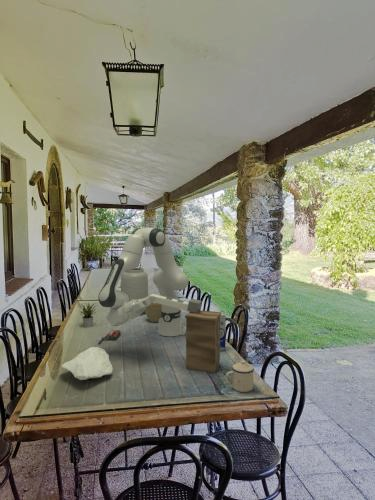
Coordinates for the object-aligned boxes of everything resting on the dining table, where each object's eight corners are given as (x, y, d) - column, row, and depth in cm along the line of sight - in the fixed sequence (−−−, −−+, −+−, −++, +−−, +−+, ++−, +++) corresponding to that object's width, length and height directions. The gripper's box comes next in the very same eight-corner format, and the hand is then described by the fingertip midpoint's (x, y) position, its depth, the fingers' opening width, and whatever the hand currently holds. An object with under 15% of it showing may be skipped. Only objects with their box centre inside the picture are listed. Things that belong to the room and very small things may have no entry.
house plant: (104, 323, 250) (103, 299, 248) (97, 329, 236) (96, 304, 235) (83, 322, 251) (83, 299, 250) (75, 328, 238) (75, 304, 236)
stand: (191, 359, 187) (192, 309, 184) (220, 363, 182) (221, 312, 180) (184, 369, 175) (184, 315, 173) (215, 373, 171) (216, 318, 168)
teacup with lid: (250, 382, 162) (250, 356, 161) (256, 392, 153) (256, 364, 152) (223, 383, 160) (223, 357, 159) (228, 393, 151) (228, 366, 150)
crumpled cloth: (50, 388, 153) (53, 367, 152) (70, 355, 188) (72, 338, 187) (107, 394, 155) (110, 373, 154) (116, 361, 190) (119, 344, 189)
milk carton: (213, 351, 198) (213, 315, 196) (209, 347, 204) (209, 312, 202) (225, 350, 200) (226, 314, 198) (221, 346, 206) (221, 311, 204)
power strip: (152, 299, 190) (153, 289, 189) (200, 310, 183) (201, 300, 182) (147, 301, 184) (149, 291, 184) (196, 313, 177) (198, 303, 177)
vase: (118, 311, 282) (117, 267, 279) (143, 308, 290) (143, 266, 287) (125, 317, 263) (124, 271, 260) (151, 314, 272) (151, 269, 269)
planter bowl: (166, 324, 248) (166, 308, 247) (143, 323, 249) (142, 308, 248) (168, 317, 264) (168, 302, 263) (146, 317, 265) (146, 302, 264)
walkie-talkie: (108, 334, 228) (96, 345, 209) (107, 327, 228) (96, 337, 208) (121, 334, 227) (111, 346, 208) (121, 327, 227) (111, 338, 207)
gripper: (122, 307, 181) (144, 295, 177) (139, 298, 200) (160, 287, 196) (128, 319, 180) (150, 307, 176) (145, 309, 200) (165, 298, 196)
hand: (155, 296), depth 186 cm, fingers closed on power strip, 4 cm apart
